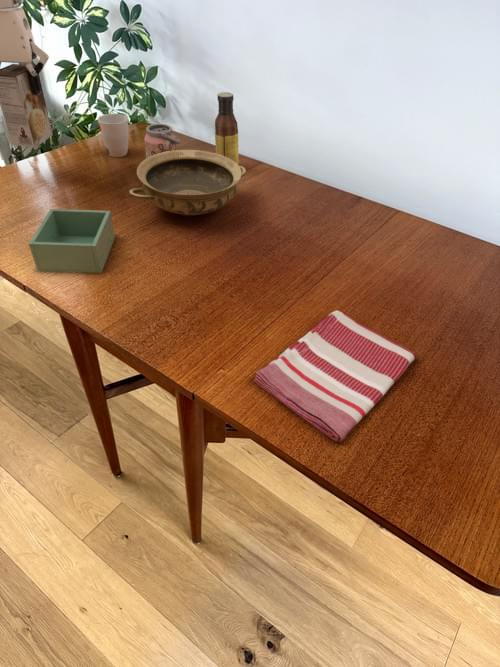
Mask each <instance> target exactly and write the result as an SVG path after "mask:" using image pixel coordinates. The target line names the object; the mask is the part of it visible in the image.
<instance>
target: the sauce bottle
mask: <svg viewBox="0 0 500 667" xmlns="http://www.w3.org/2000/svg"><path fill="white" fill-rule="evenodd" d="M234 100H235V98H234V93H232V92H227V91H221V92H218V93H217V102H218V110H217V111H218V114H217V116H216V118H215V119H214V138H215V139H214V141H215V142H214V143H215V153H216V154H219V155H222V156H225V157H227V158H229V159H231V160H232V161H234V162H235V163H236V164H238V165H239V164H240V163H239V162H240V161H239V158H240V157H239V128H238V127H239V126H238V121H237V119H236V117H235V114H234Z"/></svg>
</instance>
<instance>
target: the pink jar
mask: <svg viewBox="0 0 500 667" xmlns="http://www.w3.org/2000/svg"><path fill="white" fill-rule="evenodd" d="M145 131H146V134H145V136H144V139H143V140H144V149H145V159H146V158H148V157H150V156H152V155H155V154H158V153H162V152H166V151H174V150H177V145H180V144H181V139H180V138H179V137H177V136H176V135H175V134H174V133H173V127H172V126H171V125H169V124H166V123H150V125H148V126H146V128H145Z"/></svg>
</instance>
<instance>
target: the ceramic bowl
mask: <svg viewBox="0 0 500 667" xmlns="http://www.w3.org/2000/svg"><path fill="white" fill-rule="evenodd" d="M246 173H247V170H246V168H245V167H244V166H242V165H239V164H236V163H235V162H234V161H232V160H231V159H229V158H227V157H225V156H222V155H219V154H216V152H211V151H207V150H199V149H176V150H174V151H166V152H162V153H158V154H155V155H152V156H150V157H148V158H146V157H145V159H143V161H141V162H140V163H139V165H138V166H137V168H136V175H137V178H138V179H139V181H140V182H141V183H142V186H141V187H134V188H131V189H129V191H128V194H129V196H131V197H132V198H133V199H134V198H135V199H138V200H149V201H150V202H151V203H152V204H154V205H155V206H157V208H160V209H162V210H164V211H166V212H168V213H173V214H178V215H180V216H184V217H196V216H200V215H204V214H209V213H212V212H215V211H218V210H220V209H222V208H223V207H225V206H226V205H228V204H229V203H230V202H231V201H232V200H233V198H234V197H235V194H236V191H237V184H238V183H239V181H240V180H241V179H242V178H243V177H245V175H246ZM138 193H142V194H138ZM143 193H144V194H143Z"/></svg>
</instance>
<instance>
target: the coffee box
mask: <svg viewBox="0 0 500 667" xmlns="http://www.w3.org/2000/svg"><path fill="white" fill-rule="evenodd" d="M30 76H31V73H30V72H29V70H28V69H27V67H26V66H25V64H22V63H11V64H8V65H6V66H4V67H2V68H0V108H1V112H2V116H3V119H4V122H5V125H6V129H7V133H8V136H9V139H10V140H9V141H10V143H11V145H12V146H17V147H18V146H19V147H24V148H32V149H33V148H34V149H36V148H37V147H38V146H40V145H41V144H43V143H45V142H46V141H47V140H48V139H50V138H51V137H53V136H54V134H53V129H52V124H51V120H50V117H49V111H48V108H47V104H46V98H45V95H44V90H43V89H42V90H41V92H40V93H39V94H38V95H34V94H33V89H32V85H31V81H30Z"/></svg>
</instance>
